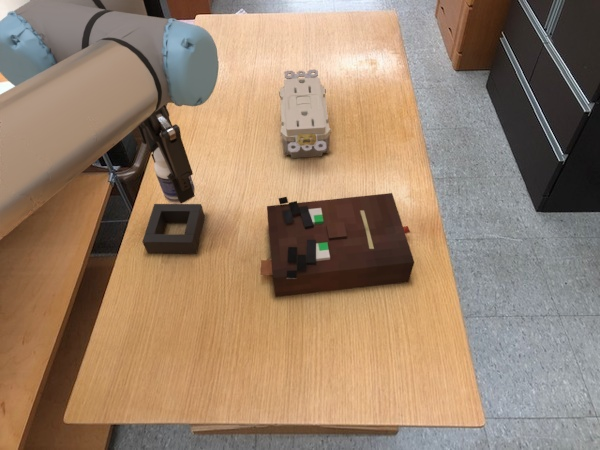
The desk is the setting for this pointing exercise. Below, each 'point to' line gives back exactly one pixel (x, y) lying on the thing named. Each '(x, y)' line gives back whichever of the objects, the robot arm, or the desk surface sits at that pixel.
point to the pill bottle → (166, 178)
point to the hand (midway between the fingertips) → (178, 188)
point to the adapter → (174, 242)
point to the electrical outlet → (304, 115)
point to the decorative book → (336, 245)
